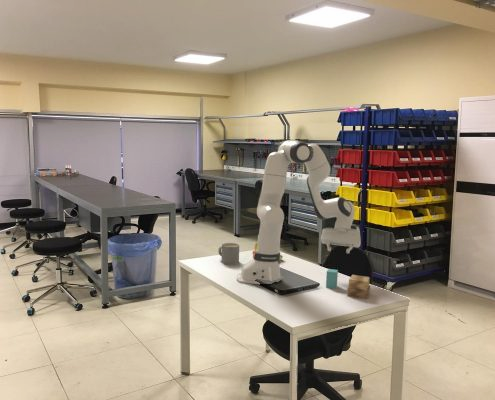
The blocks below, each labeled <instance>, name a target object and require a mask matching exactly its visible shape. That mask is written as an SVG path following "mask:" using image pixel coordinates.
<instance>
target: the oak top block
mask: <svg viewBox="0 0 495 400" xmlns="http://www.w3.org/2000/svg"><path fill="white" fill-rule="evenodd" d="M369 285H370V277H369V276H364V275H356V274H352V275H351V276H350V277H349V279H348V286H349V288H353V289H360V290H367V288H368V286H369Z"/></svg>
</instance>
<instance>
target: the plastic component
mask: <svg viewBox="0 0 495 400" xmlns="http://www.w3.org/2000/svg"><path fill="white" fill-rule="evenodd" d="M253 248H254V250H255V251H257V250H258V242H255V243H254V246H253ZM254 250H253V251H254ZM280 255H281V257H280V262H281V261H282V259H283V255H282V254H280Z"/></svg>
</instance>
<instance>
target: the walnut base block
mask: <svg viewBox="0 0 495 400" xmlns="http://www.w3.org/2000/svg"><path fill="white" fill-rule="evenodd" d="M370 293H371V285H370V284H369V286H368V288H367V290H360V289H353V288H349V285H348V286H347V291H346V296H347V297H352V298H359V299H363V298H364V299H365V300H368V298H369V296H370Z"/></svg>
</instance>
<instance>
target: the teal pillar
mask: <svg viewBox="0 0 495 400" xmlns="http://www.w3.org/2000/svg"><path fill="white" fill-rule="evenodd" d="M338 277H339V270H338V269H333V268H332V269H331V268H327V270H326V281H325V288H327V289H336V288H337V287H338Z"/></svg>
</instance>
